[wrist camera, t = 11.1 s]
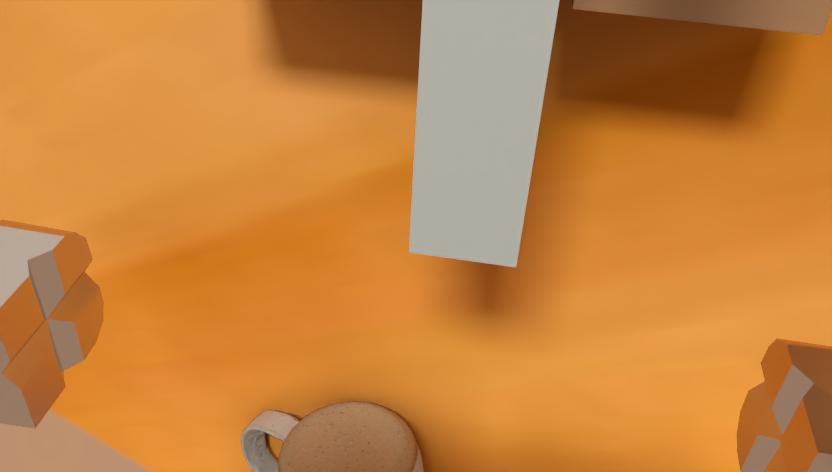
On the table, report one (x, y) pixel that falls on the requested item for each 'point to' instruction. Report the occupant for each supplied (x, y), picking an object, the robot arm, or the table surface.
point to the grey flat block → (478, 125)
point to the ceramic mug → (333, 441)
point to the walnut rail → (726, 12)
